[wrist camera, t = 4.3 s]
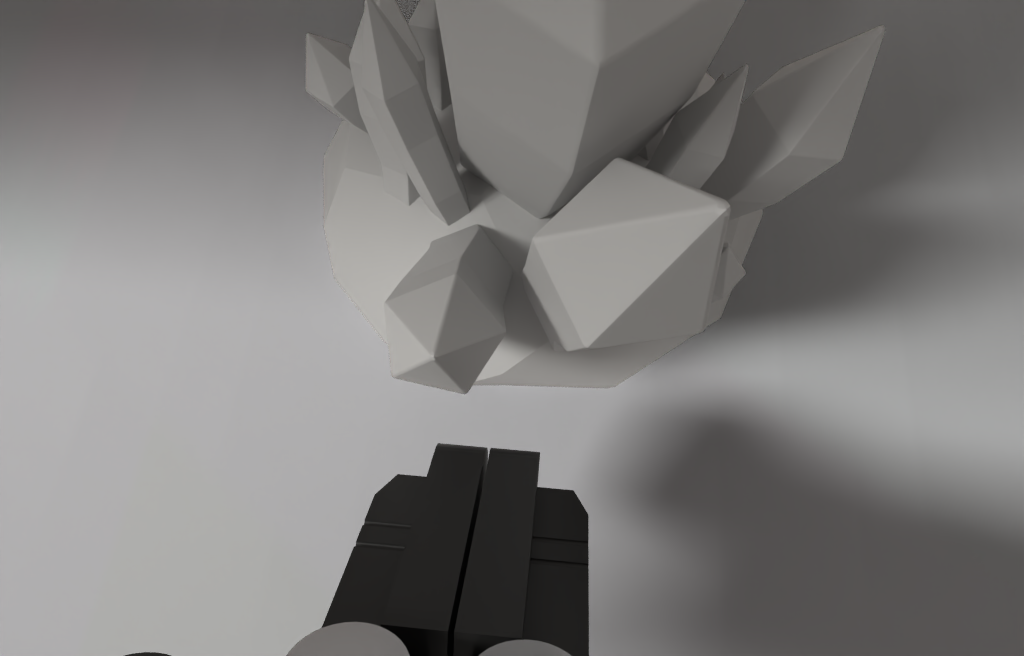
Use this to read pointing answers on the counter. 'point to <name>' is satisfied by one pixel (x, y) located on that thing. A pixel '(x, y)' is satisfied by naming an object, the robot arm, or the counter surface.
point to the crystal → (559, 178)
